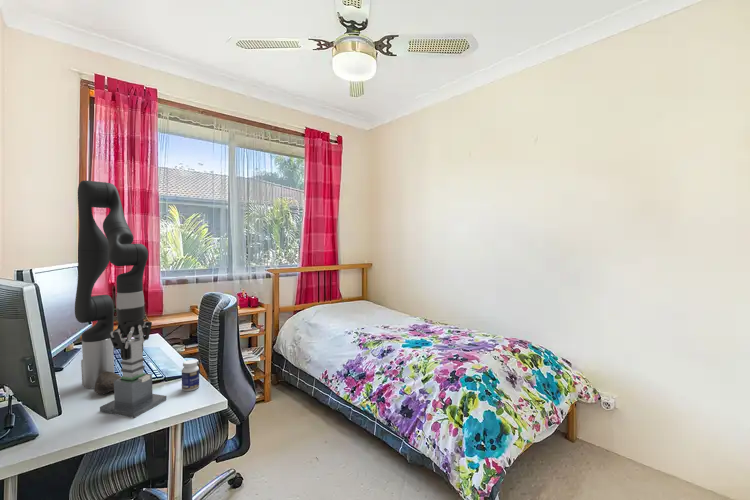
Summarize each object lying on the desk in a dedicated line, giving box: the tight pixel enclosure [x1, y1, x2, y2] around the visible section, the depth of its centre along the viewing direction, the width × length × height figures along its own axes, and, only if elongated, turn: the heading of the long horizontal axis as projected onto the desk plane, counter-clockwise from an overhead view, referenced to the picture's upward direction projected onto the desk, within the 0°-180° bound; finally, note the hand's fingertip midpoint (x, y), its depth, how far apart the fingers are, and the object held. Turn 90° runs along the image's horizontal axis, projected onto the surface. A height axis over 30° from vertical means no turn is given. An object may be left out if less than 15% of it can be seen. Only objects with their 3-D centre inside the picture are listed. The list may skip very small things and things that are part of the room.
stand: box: [99, 373, 167, 418], centre depth 120 cm, size 14×12×10 cm
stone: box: [94, 371, 122, 395], centre depth 131 cm, size 10×8×10 cm
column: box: [120, 338, 146, 382], centre depth 119 cm, size 5×5×15 cm
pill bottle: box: [181, 359, 200, 392], centre depth 133 cm, size 6×6×10 cm
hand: (132, 356), depth 119 cm, fingers open, 4 cm apart
